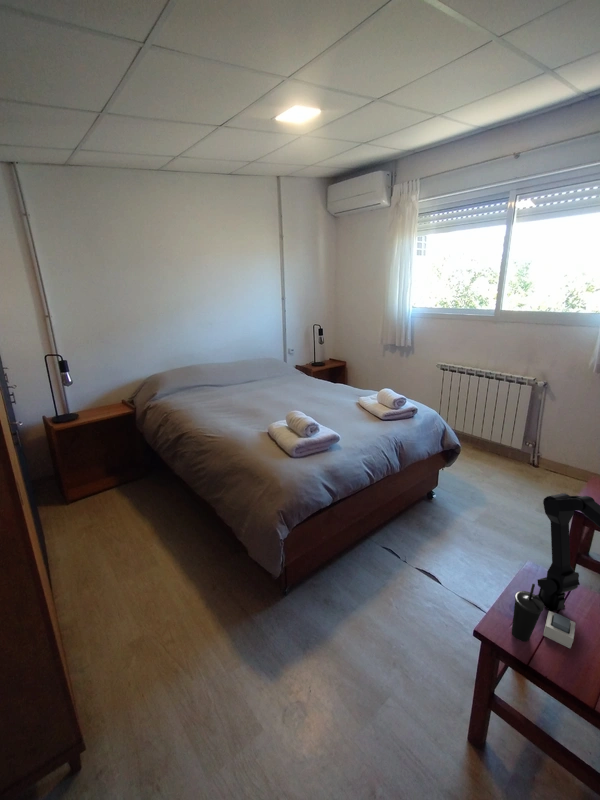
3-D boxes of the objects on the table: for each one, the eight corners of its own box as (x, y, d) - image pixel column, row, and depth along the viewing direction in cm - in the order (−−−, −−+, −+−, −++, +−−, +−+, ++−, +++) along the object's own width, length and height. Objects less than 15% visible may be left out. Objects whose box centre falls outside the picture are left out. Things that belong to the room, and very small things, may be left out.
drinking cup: (531, 651, 111) (545, 599, 104) (503, 635, 116) (515, 584, 110) (537, 634, 116) (551, 584, 110) (510, 619, 121) (522, 570, 115)
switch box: (543, 635, 116) (546, 625, 115) (546, 619, 121) (548, 610, 120) (570, 648, 112) (573, 639, 110) (572, 632, 117) (575, 622, 116)
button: (551, 628, 115) (553, 621, 114) (552, 619, 118) (555, 612, 117) (566, 636, 113) (569, 628, 112) (568, 626, 116) (570, 619, 115)
